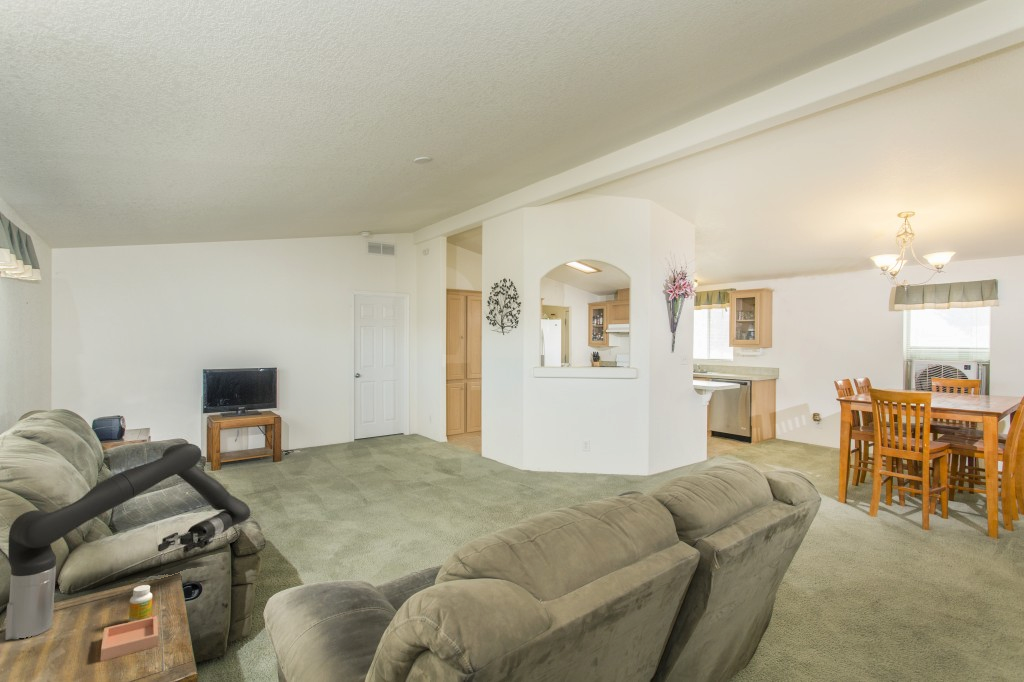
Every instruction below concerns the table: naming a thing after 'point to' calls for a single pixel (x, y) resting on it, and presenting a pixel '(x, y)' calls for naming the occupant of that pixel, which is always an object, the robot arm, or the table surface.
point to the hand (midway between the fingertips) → (171, 549)
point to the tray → (129, 638)
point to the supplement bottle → (140, 603)
